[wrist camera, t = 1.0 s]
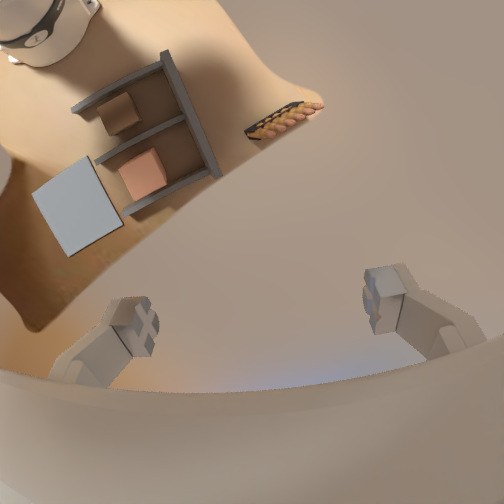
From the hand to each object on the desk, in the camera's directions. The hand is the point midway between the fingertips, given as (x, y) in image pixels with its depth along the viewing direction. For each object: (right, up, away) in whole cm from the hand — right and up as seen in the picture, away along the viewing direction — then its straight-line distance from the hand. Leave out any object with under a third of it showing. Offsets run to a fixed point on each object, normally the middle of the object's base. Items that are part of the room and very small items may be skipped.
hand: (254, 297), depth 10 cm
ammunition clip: (+3, +25, +38) cm, 45 cm away
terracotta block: (-18, +16, +35) cm, 42 cm away
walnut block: (-21, +24, +30) cm, 44 cm away
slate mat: (-31, +9, +34) cm, 47 cm away
